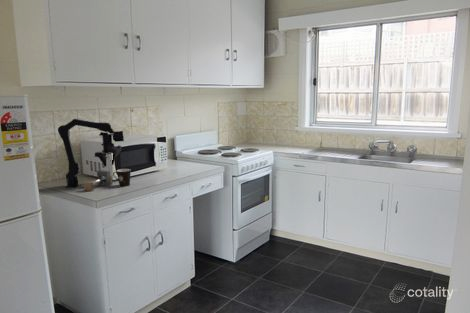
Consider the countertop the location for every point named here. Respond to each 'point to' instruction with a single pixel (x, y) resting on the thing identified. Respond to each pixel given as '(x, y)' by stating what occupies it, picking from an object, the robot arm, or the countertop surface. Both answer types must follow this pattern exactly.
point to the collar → (107, 177)
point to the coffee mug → (123, 177)
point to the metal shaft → (89, 185)
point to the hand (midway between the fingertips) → (109, 165)
